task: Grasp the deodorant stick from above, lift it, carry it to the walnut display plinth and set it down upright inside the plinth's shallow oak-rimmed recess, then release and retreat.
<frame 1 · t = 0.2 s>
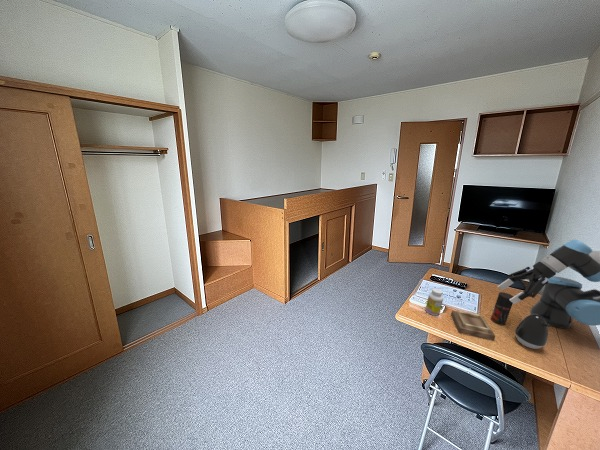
hand: (505, 294, 119), 15 cm above the table, tool tilted 35°, fingers open, 13 cm apart
deodorant: (497, 321, 123), on the table
black rounded dome: (527, 344, 109), on the table
display plinth: (470, 326, 118), on the table
supplement bottle: (432, 312, 128), on the table
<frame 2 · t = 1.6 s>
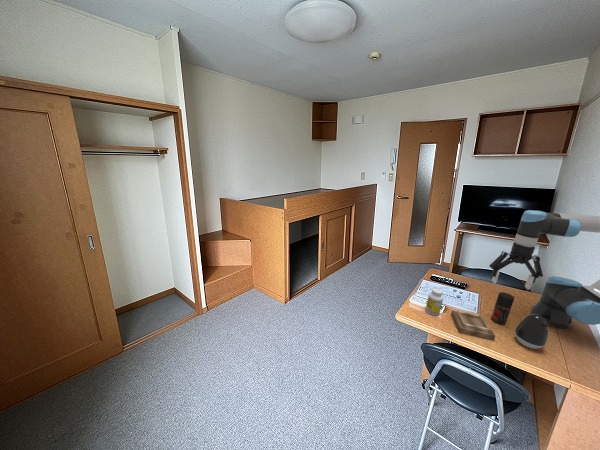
hand: (510, 285, 117), 21 cm above the table, tool pointing down, fingers open, 13 cm apart
nothing on the table moved.
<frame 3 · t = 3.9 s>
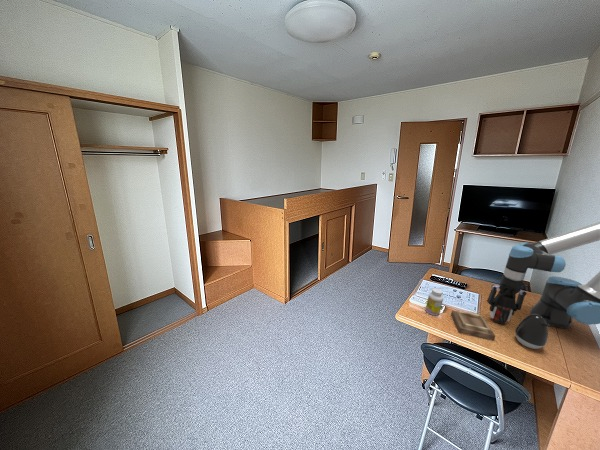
hand: (499, 318, 123), 2 cm above the table, tool pointing down, fingers closed on deodorant, 6 cm apart
deodorant: (497, 321, 123), on the table, touching gripper
everything else where it was.
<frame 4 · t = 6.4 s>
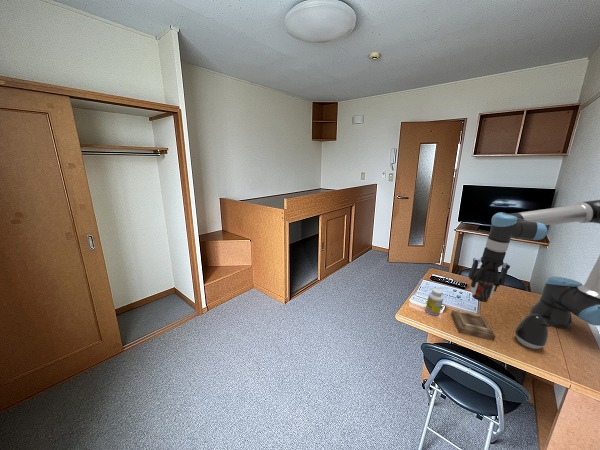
hand: (480, 294, 113), 17 cm above the table, tool pointing down, fingers closed on deodorant, 6 cm apart
deodorant: (479, 298, 114), point 15 cm above the table, touching gripper
everything else where it was.
when the fingers open (5 cm above the table, at t = 9.0 s): deodorant stays where it is, resting on display plinth.
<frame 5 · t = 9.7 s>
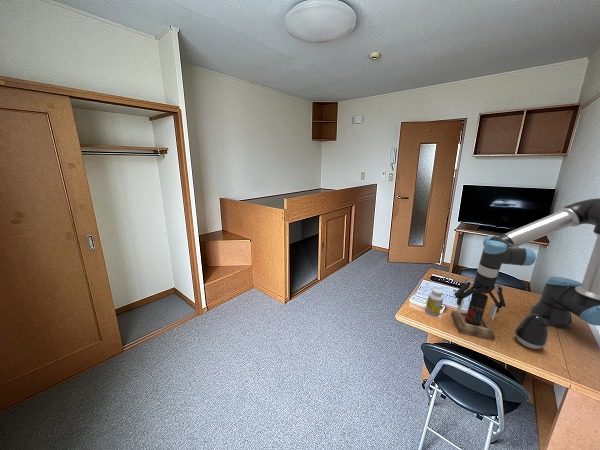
hand: (474, 314, 116), 7 cm above the table, tool pointing down, fingers open, 13 cm apart
deodorant: (472, 322, 117), point 2 cm above the table, touching display plinth
everything else where it was.
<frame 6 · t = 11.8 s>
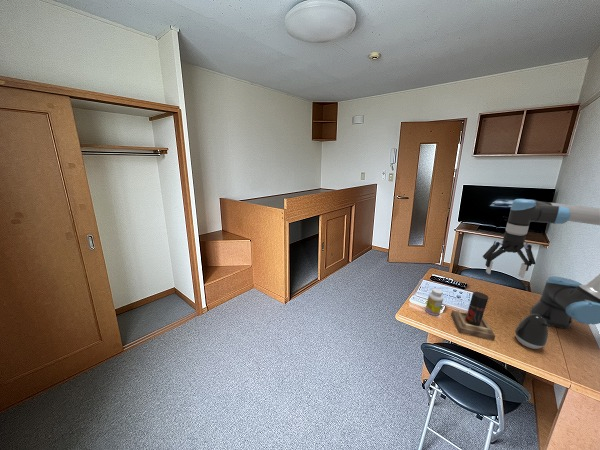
hand: (504, 274, 117), 25 cm above the table, tool pointing down, fingers open, 13 cm apart
nothing on the table moved.
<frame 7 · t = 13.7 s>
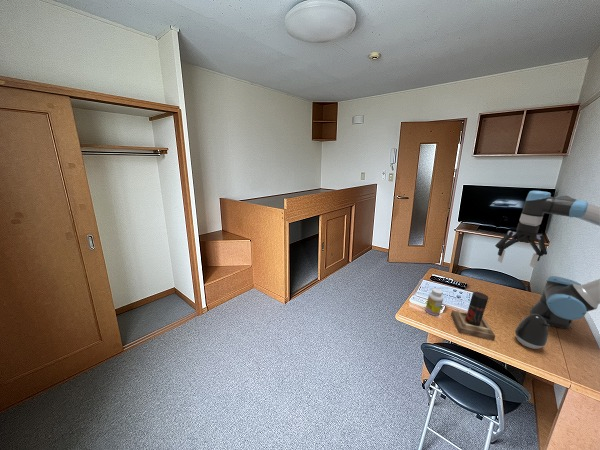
hand: (515, 264, 122), 29 cm above the table, tool pointing down, fingers open, 13 cm apart
nothing on the table moved.
at the end: deodorant 0.1 cm off-centre on the display plinth, point 2.3 cm above the display plinth's base; deodorant tilted 0°; the gripper is holding nothing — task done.
